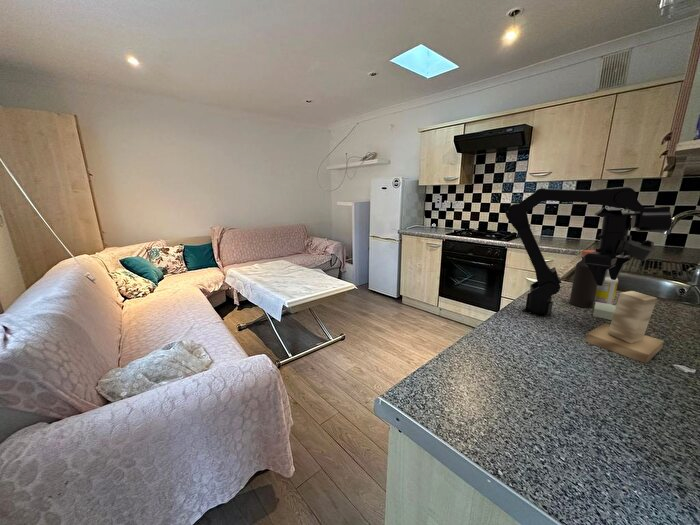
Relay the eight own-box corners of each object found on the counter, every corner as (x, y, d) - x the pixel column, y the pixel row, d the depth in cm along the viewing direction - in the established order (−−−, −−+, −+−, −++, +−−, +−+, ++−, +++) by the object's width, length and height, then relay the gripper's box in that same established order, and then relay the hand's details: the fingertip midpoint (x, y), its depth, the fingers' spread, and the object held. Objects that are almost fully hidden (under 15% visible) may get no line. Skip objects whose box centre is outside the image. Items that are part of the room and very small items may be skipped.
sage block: (592, 317, 91) (594, 308, 90) (594, 309, 97) (595, 301, 96) (626, 324, 86) (628, 315, 85) (625, 316, 91) (627, 307, 90)
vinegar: (574, 307, 98) (584, 252, 93) (565, 300, 104) (575, 248, 99) (597, 309, 96) (609, 253, 91) (587, 301, 102) (598, 249, 97)
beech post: (607, 333, 75) (620, 292, 71) (619, 330, 76) (632, 290, 73) (630, 343, 70) (645, 300, 67) (642, 340, 72) (657, 297, 68)
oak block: (584, 343, 76) (587, 333, 75) (602, 331, 82) (604, 322, 81) (645, 365, 66) (648, 354, 65) (660, 351, 72) (664, 340, 71)
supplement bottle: (603, 299, 104) (610, 267, 101) (618, 306, 98) (626, 272, 95) (584, 299, 105) (590, 266, 102) (597, 306, 99) (605, 271, 95)
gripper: (640, 237, 68) (630, 296, 72) (666, 229, 77) (656, 282, 80) (586, 234, 78) (579, 286, 81) (614, 227, 86) (607, 274, 90)
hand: (606, 282), depth 83 cm, fingers open, 9 cm apart
